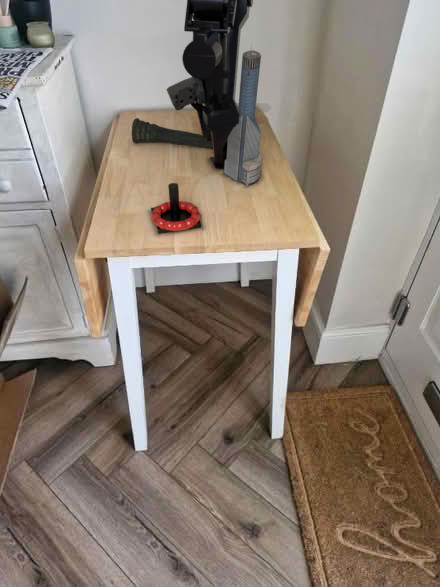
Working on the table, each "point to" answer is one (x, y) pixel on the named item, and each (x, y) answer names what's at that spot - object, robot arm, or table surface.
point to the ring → (180, 224)
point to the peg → (174, 210)
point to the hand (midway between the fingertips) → (211, 145)
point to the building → (246, 127)
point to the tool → (166, 135)
